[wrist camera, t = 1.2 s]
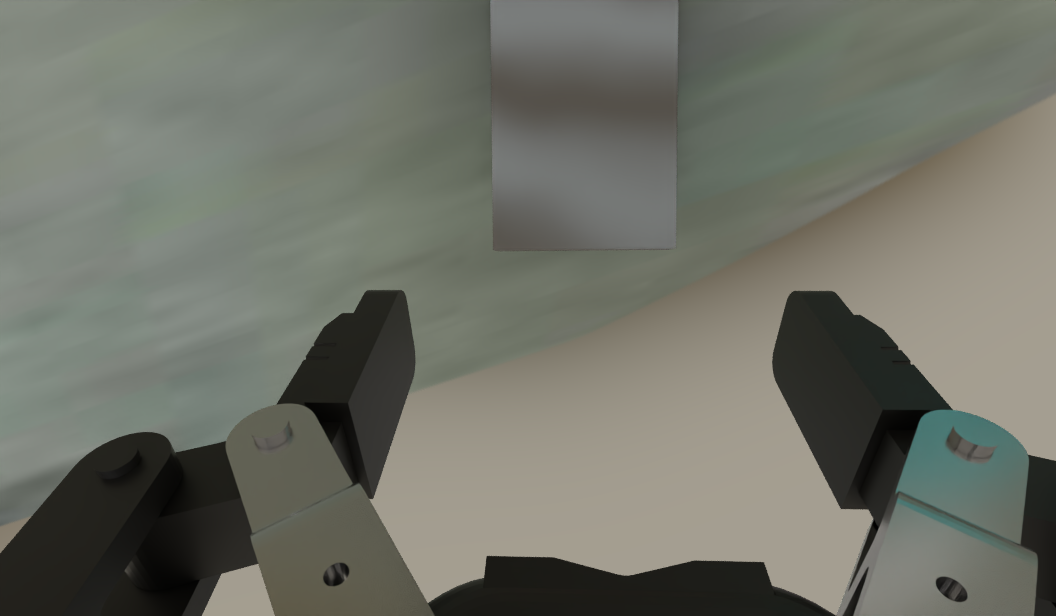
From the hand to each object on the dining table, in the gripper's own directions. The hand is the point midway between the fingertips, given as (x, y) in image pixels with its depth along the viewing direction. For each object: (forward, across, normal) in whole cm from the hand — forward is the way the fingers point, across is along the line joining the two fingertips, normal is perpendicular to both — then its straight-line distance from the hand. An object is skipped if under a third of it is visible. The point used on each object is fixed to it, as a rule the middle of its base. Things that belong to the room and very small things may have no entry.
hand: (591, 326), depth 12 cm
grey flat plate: (+17, 0, -1) cm, 17 cm away
